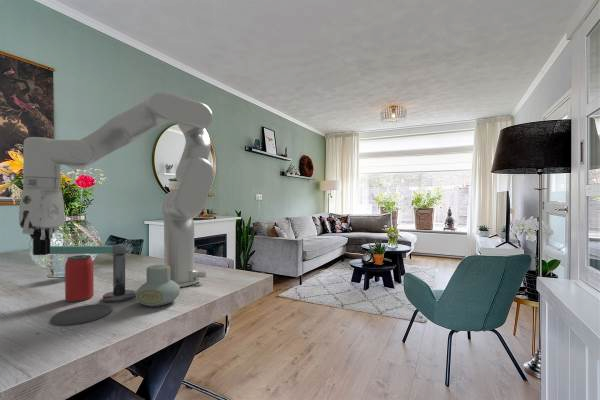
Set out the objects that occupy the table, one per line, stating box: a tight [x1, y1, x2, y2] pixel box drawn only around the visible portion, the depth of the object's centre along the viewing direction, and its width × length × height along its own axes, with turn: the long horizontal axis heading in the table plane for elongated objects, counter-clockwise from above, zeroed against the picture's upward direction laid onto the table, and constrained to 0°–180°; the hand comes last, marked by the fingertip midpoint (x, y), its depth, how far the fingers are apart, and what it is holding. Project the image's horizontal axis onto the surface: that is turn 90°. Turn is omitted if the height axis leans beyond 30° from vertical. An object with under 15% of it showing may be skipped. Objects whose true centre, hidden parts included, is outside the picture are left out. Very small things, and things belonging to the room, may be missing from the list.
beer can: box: [64, 254, 95, 303], centre depth 87 cm, size 7×7×12 cm
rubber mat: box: [50, 303, 113, 326], centre depth 75 cm, size 12×12×1 cm
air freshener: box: [135, 264, 181, 308], centre depth 84 cm, size 11×8×10 cm
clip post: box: [102, 253, 136, 304], centre depth 88 cm, size 8×8×13 cm
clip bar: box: [49, 243, 127, 255], centre depth 87 cm, size 22×3×2 cm, turn 93°
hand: (41, 254), depth 81 cm, fingers closed
